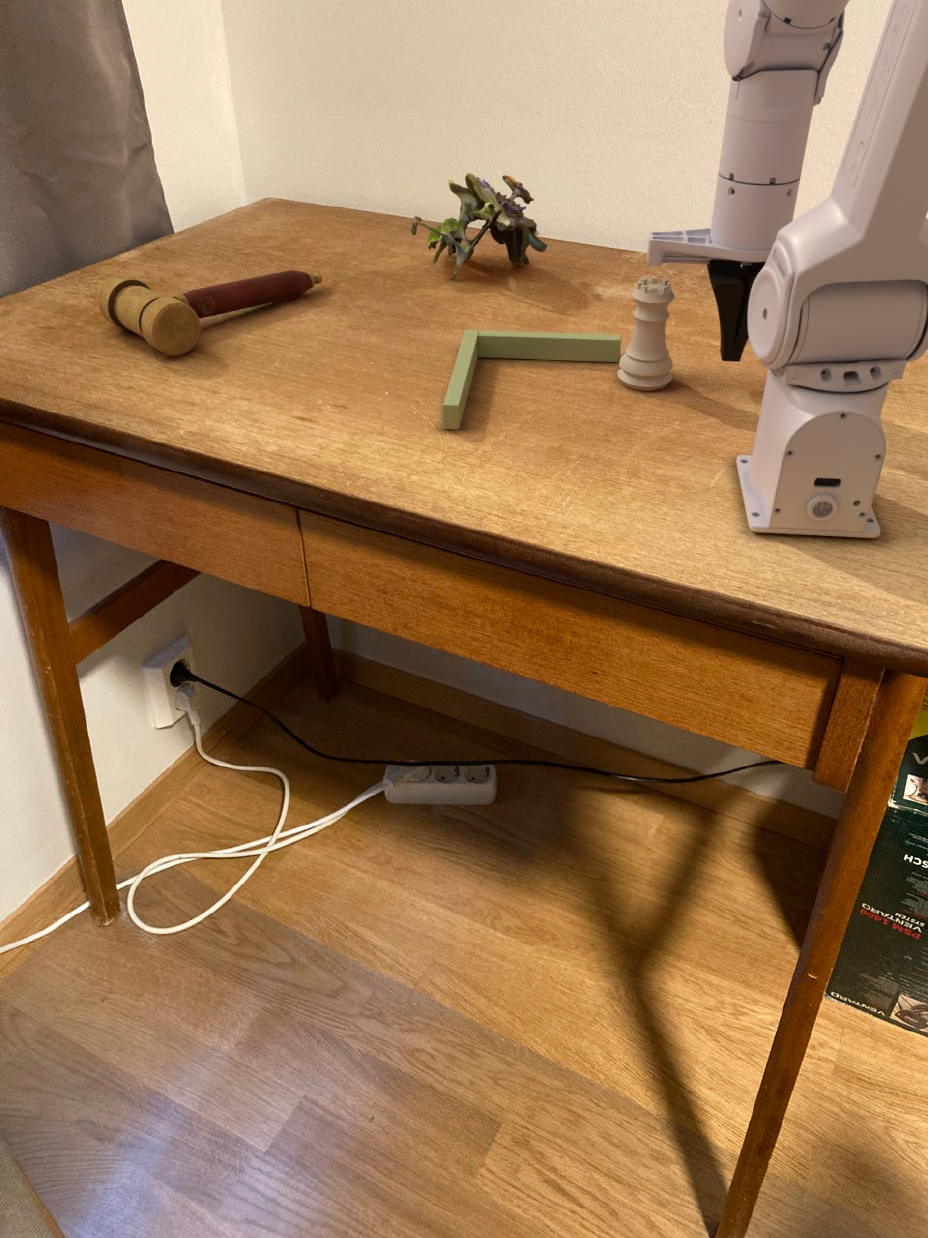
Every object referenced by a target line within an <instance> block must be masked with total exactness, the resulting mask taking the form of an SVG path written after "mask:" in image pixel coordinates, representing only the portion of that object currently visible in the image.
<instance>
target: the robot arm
mask: <svg viewBox="0 0 928 1238" xmlns="http://www.w3.org/2000/svg"><path fill="white" fill-rule="evenodd" d="M849 2H850V0H728V4H727V8H726V13H725V19H724V20H725V21H724V27H723V28H724V30H723V58H724V59H723V60H724V65H725V68H726V71H727V73H728V75H729V76H730V82H729V88H728V89H729V90H728V97H727V103H726V113H725V121H724V127H723V135H722V141H721V149H720V156H719V157H720V158H719V164H718V173H717V180H716V185H715V192H714V193H715V194H714V201H713V208H712V215H711V222H710V224H711V225H710V227H705V228H695V229H683V230H672V231H671V230H669V231H649V232H648V240H647V252H646V263H647V264H646V265H647V266H649V267H661V266H663V264H685V265H686V264H687V265H706V269H707V273H708V278H709V282H710V285H711V289H712V292H713V294H714V298H715V302H716V306H717V312H718V319H719V329H720V346H719V347H720V348H719V353H720V358H721V362H737V363H739V362H741V360H742V357H743V353H744V350H745V348H746V346H747V342H748V340H749V345H750V348H751V350H752V353H753V354H754V356H755V357H756V359H757V360H758V362H759V363H760V364H761V366H763V368H765V369H767V373H766V378H765V384H764V389H763V393H762V400H761V404H760V405H761V406H760V409H759V410H760V411H759V416H758V421H757V426H756V432H755V438H754V443H753V448H752V454H739V455H738V456H736V458H735V459H736V460H735V464H736V469H737V473H738V479H739V480H738V481H739V483H740V485H739V486H740V488H741V494H742V499H743V505H744V509H745V514H746V518H747V524H748V528H749V529H750V530H751V532H755V533H768V534H769V533H770V534H786V535H803V536H805V535H806V536H824V537H825V536H826V537H828V536H829V537H843V538H844V537H845V538H864V539H865V538H866V539H876V538H879V537H880V534H881V527H880V525H879V523H878V520H877V518H876V515H875V512H874V510H873V507H872V506H873V502H874V498H875V494H876V491H877V489H878V488H877V487H878V484H879V480H880V478H881V477H880V476H881V473H882V470H883V466H884V463H885V460H886V459H885V458H886V454H887V439H886V433H885V431H884V428H883V427H884V426H883V424H882V418H881V417H882V412H883V408H884V404H885V401H886V397H887V393H888V390H889V386H890V382H891V381H895V380H903V378H904V374H905V370H906V366H907V363H914V362H915V361H917V360H919V359H920V358H921V357H923V355H924V354H925V353H926V352H927V351H928V217H927V215H928V0H892V1H891V4H890V8H889V9H888V10H889V11H888V13H887V16H886V20H885V23H884V26H883V29H882V33H881V36H880V38H879V42H878V45H877V48H876V51H875V54H874V56H873V57H874V58H873V61H872V62H871V63H872V64H871V65H870V69H869V73H868V75H867V78H866V82H865V85H864V87H863V92H862V94H861V97H860V101H859V104H858V106H857V110H856V114H855V116H854V120H853V123H852V125H851V129H850V132H849V135H848V138H847V140H846V141H847V142H846V144H845V147H844V151H843V153H842V156H841V159H840V163H839V166H838V169H837V173H836V176H835V177H834V180H833V181H834V182H833V185H832V188H831V191H830V194H829V196H828V197H826V198H825V199H824V200H822V201H821V202H819V203H818V204H816V205H815V206H813V207H812V208H810V209H809V210H807V211H806V212H804V213H802V214H801V215H800V216H798V217H796V218H795V219H794V215H795V210H796V204H797V198H798V194H799V188H800V183H801V178H802V172H803V167H804V160H805V155H806V151H807V150H806V149H807V145H808V138H809V133H810V128H811V123H812V117H813V112H814V107H816V106H817V105H820V104H821V103H822V99H823V98H824V96H825V91H826V86H827V82H828V78H829V74H830V72H831V70H832V68H833V66H834V64H835V62H836V60H837V57H838V55H839V53H840V49H841V47H842V43H843V38H844V34H845V30H844V24H845V14H846V13H845V12H846V11H845V10H846V7H847V6H848V4H849Z"/></svg>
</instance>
